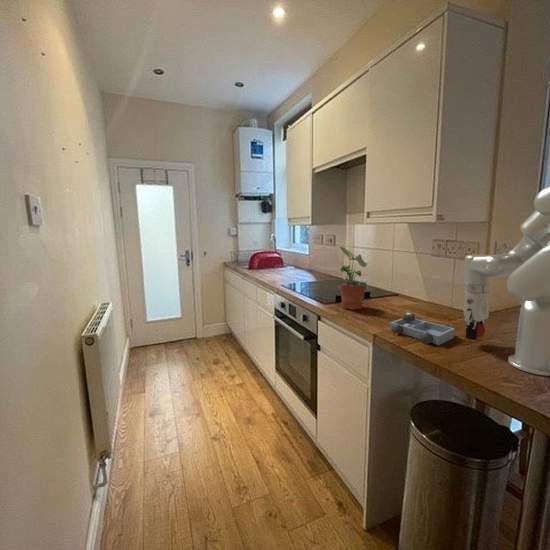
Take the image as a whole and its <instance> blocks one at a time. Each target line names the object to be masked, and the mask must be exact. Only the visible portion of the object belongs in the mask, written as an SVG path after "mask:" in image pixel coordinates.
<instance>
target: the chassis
mask: <svg viewBox="0 0 550 550" xmlns="http://www.w3.org/2000/svg"><path fill="white" fill-rule="evenodd" d="M402 318H403V317H402ZM402 318H399V319H396V320H393V321H391V322H389V330H390V329H391V330H392V331H391V333H392V332H394V333H397V334H399V335H402V334H401V333H403V334H406V335H409V336H412V337H415V338H414V339H416V338H418V339H417V340H419V339H420V340H419V341H420V342H421V343H422V344H424V343H425V344H424V345H428V344H432V343H433V345H435V344H436V346H441V345H443V344H445V343H446V342H448V341H451V340H452V339H454V338H455V333H456V328H454V327H451V325H449V324H446V323H443V324H437V323H435V322H434V323H433V322H430V321H428V320H427V321H426V320H422V318H420V317H419V316H415V320H414V321H407V320H403V319H402ZM406 335H405V336H406ZM409 336H408V337H409ZM412 337H411V338H412ZM440 344H441V345H440Z"/></svg>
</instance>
